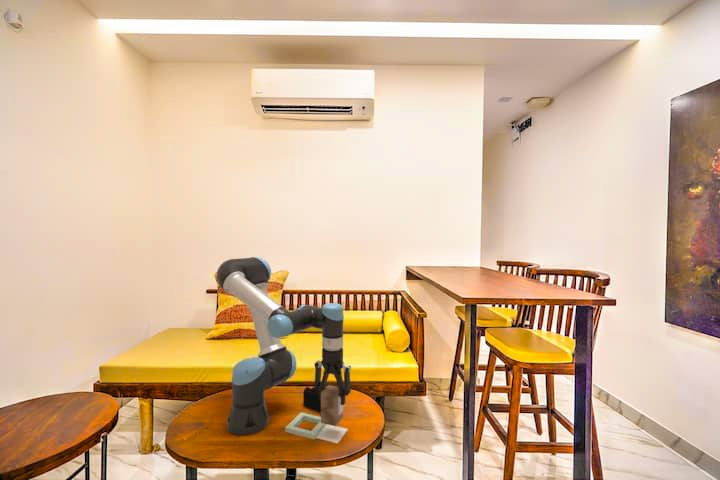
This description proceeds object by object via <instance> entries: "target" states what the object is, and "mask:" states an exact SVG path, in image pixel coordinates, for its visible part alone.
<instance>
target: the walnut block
mask: <svg viewBox="0 0 720 480" xmlns="http://www.w3.org/2000/svg"><path fill="white" fill-rule="evenodd" d="M325 387H326V388H325V389H324V390H323V391H322V392H321V413H320V417H321V423H324V424H328V425H332V426H338V425H339V424H340V422H341V421H342V420H343V418H344V411H343V412H342V413H341V414H340V415H338V396H339V395H340V392H339V389H338V386H336V385H335V386H334V385H330V384H328V385H327V386H325Z"/></svg>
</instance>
